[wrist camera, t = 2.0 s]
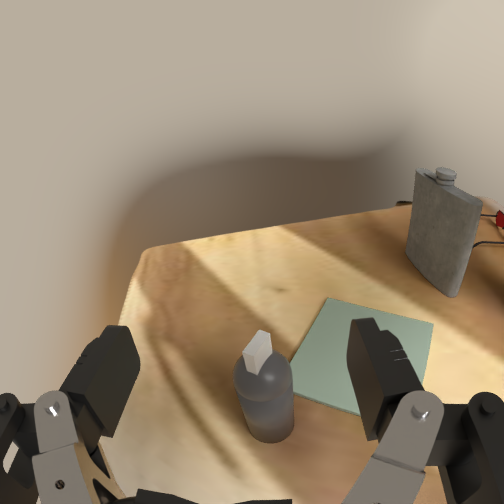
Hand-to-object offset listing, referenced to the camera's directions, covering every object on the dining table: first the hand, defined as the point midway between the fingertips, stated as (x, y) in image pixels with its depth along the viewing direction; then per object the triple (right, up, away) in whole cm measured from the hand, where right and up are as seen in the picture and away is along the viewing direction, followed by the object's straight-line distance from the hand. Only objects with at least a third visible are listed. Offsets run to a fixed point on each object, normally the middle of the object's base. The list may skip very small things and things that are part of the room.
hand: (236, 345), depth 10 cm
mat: (+16, -11, +28) cm, 34 cm away
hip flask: (+34, -1, +40) cm, 53 cm away
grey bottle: (+3, -17, +22) cm, 28 cm away
